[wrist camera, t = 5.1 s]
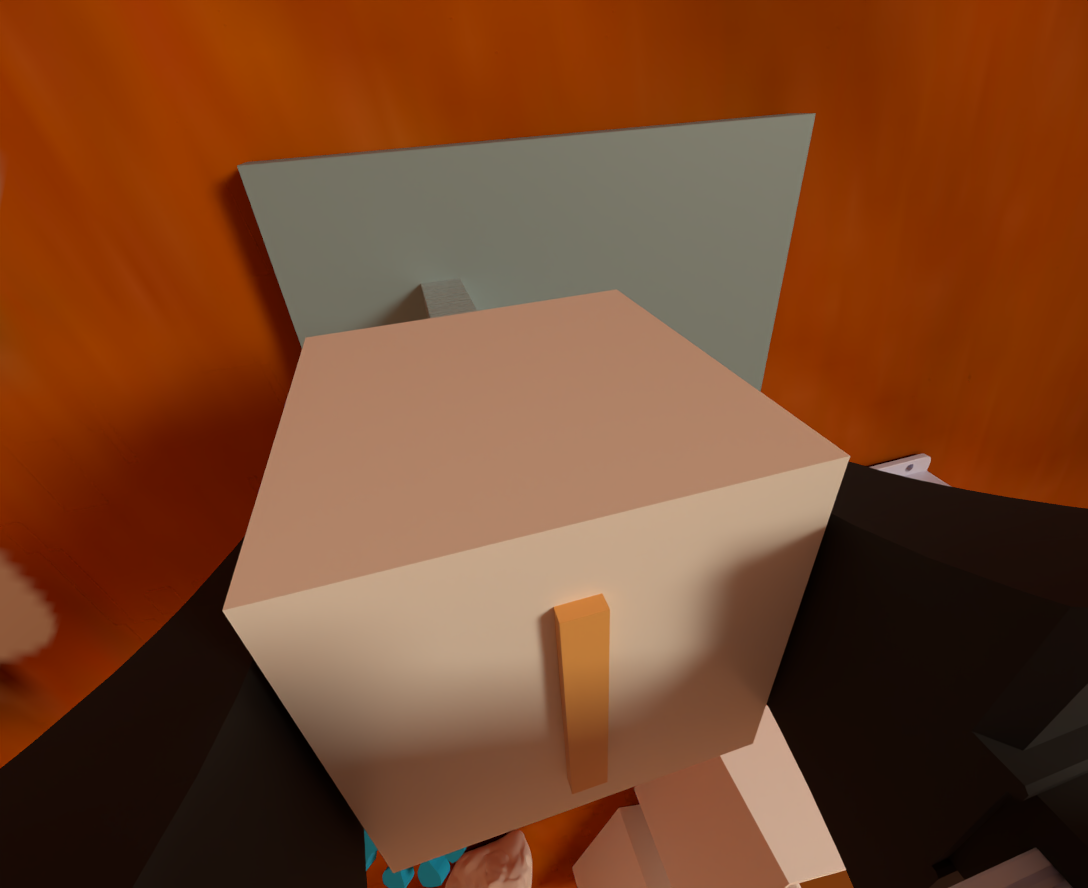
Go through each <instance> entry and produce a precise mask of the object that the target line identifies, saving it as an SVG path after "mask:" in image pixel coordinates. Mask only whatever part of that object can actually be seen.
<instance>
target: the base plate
mask: <svg viewBox="0 0 1088 888" xmlns="http://www.w3.org/2000/svg"><path fill="white" fill-rule="evenodd" d="M815 114H816V113H803V114H780V115H769V116H757V117H746V118H735V119H724V120H713V121H702V122H691V123H679V124H668V125H657V126H646V127H635V128H624V129H612V130H601V131H590V132H579V133H568V134H557V135H545V136H534V137H523V138H512V139H501V140H490V141H479V142H467V143H456V144H445V145H434V146H423V147H412V148H400V149H389V150H378V151H367V152H356V153H345V154H333V155H322V156H311V157H300V158H289V159H278V160H267V161H255V162H246V163H243V164H241V165H238V166H237V167H238V170H239V173H240V176H241V178H242V181H243V184H244V187H245V190H246V192H247V195H248V198H249V201H250V204H251V207H252V209H253V212H254V215H255V218H256V221H257V223H258V226H259V229H260V232H261V235H262V238H263V240H264V243H265V246H266V249H267V252H268V254H269V257H270V260H271V263H272V266H273V269H274V271H275V274H276V277H277V280H278V283H279V285H280V288H281V291H282V294H283V297H284V300H285V302H286V305H287V308H288V311H289V314H290V316H291V319H292V322H293V325H294V328H295V331H296V333H297V336H298V339H299V342H300V345H301V347H302V348H303V344H304V341H305V338H306V337H313V336H319V335H326V334H332V333H339V332H345V331H352V330H358V329H365V328H371V327H377V326H384V325H390V324H397V323H403V322H410V321H416V320H423V319H428V317H427V312H426V307H425V302H424V297H423V292H422V287H421V283H428V282H435V281H442V280H449V279H456V278H460V279H461V281H462V283H463V285H464V287H465V289H466V291H467V292H468V294H469V296H470V298H471V300H472V302H473V304H474V305H475V307H476V309H477V311H481V310H487V309H494V308H500V307H506V306H513V305H519V304H526V303H532V302H539V301H545V300H552V299H558V298H564V297H571V296H577V295H584V294H590V293H597V292H603V291H610V290H616V289H617V290H618V291H620V292H621V293H622V294H624V295H625V296H627V297H628V298H629V299H631V300H632V301H634V302H635V303H636V304H638V305H639V306H641V307H642V308H643V309H645V310H646V311H648V312H649V313H650V314H652V315H653V316H655V317H656V318H657V319H659V320H660V321H662V322H663V323H664V324H666V325H667V326H669V327H670V328H671V329H673V330H674V331H676V332H677V333H678V334H680V335H681V336H683V337H684V338H686V339H687V340H688V341H690V342H691V343H693V344H694V345H695V346H697V347H698V348H700V349H701V350H702V351H704V352H705V353H707V354H708V355H709V356H711V357H712V358H714V359H715V360H716V361H718V362H719V363H721V364H722V365H723V366H725V367H726V368H728V369H729V370H730V371H732V372H733V373H735V374H736V375H737V376H739V377H740V378H742V379H743V380H744V381H746V382H747V383H749V384H750V385H751V386H753V387H754V388H756V389H757V390H758V391H761V386H762V381H763V375H764V370H765V365H766V360H767V355H768V350H769V345H770V340H771V335H772V330H773V325H774V320H775V315H776V310H777V305H778V300H779V295H780V290H781V285H782V280H783V275H784V270H785V265H786V260H787V255H788V250H789V245H790V240H791V235H792V230H793V225H794V220H795V215H796V210H797V205H798V200H799V194H800V189H801V184H802V179H803V174H804V169H805V164H806V159H807V154H808V149H809V144H810V139H811V134H812V129H813V124H814V119H815Z"/></svg>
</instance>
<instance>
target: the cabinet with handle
mask: <svg viewBox="0 0 1088 888" xmlns="http://www.w3.org/2000/svg"><path fill="white" fill-rule="evenodd" d="M849 458H850V456H849V455H848V454H847V453H845V452H844V451H842V450H841V449H840V448H838V447H837V446H835V445H834V444H833V443H831V442H830V441H828V440H827V439H826V438H824V437H823V436H821V435H820V434H819V433H817V432H816V431H814V430H813V429H812V428H810V427H809V426H807V425H806V424H805V423H803V422H802V421H800V420H799V419H798V418H796V417H795V416H793V415H792V414H791V413H789V412H788V411H786V410H785V409H784V408H782V407H781V406H779V405H778V404H777V403H775V402H774V401H772V400H771V399H770V398H768V397H767V396H765V395H764V394H763V393H761V392H760V391H758V390H757V389H756V388H754V387H753V386H751V385H750V384H749V383H747V382H746V381H744V380H743V379H742V378H740V377H739V376H737V375H736V374H735V373H733V372H732V371H730V370H729V369H728V368H726V367H725V366H723V365H722V364H721V363H719V362H718V361H716V360H715V359H714V358H712V357H711V356H709V355H708V354H707V353H705V352H704V351H702V350H701V349H700V348H698V347H697V346H695V345H694V344H693V343H691V342H690V341H688V340H687V339H686V338H684V337H683V336H681V335H680V334H678V333H677V332H676V331H674V330H673V329H671V328H670V327H669V326H667V325H666V324H664V323H663V322H662V321H660V320H659V319H657V318H656V317H655V316H653V315H652V314H650V313H649V312H648V311H646V310H645V309H643V308H642V307H641V306H639V305H638V304H636V303H635V302H634V301H632V300H631V299H629V298H628V297H627V296H625V295H624V294H622V293H621V292H620V291H618V290H617V289H616V290H610V291H603V292H597V293H590V294H584V295H577V296H571V297H564V298H558V299H552V300H545V301H539V302H532V303H526V304H519V305H513V306H506V307H500V308H494V309H487V310H481V311H474V312H468V313H461V314H455V315H448V316H442V317H435V318H429V319H423V320H416V321H410V322H403V323H397V324H390V325H384V326H377V327H371V328H365V329H358V330H352V331H345V332H339V333H332V334H326V335H319V336H313V337H306V338H305V341H304V344H303V348H302V351H301V354H300V357H299V361H298V364H297V367H296V371H295V374H294V377H293V380H292V384H291V387H290V390H289V394H288V397H287V400H286V403H285V407H284V410H283V413H282V417H281V420H280V423H279V426H278V430H277V433H276V436H275V439H274V443H273V446H272V449H271V453H270V456H269V459H268V462H267V466H266V469H265V472H264V476H263V479H262V482H261V485H260V489H259V492H258V495H257V499H256V502H255V505H254V508H253V512H252V515H251V518H250V521H249V525H248V528H247V531H246V535H245V538H244V541H243V544H242V548H241V551H240V554H239V558H238V561H237V564H236V567H235V571H234V574H233V577H232V581H231V584H230V587H229V590H228V594H227V597H226V600H225V603H224V607H223V610H222V611H223V613H224V614H225V616H226V617H227V619H228V620H229V622H230V623H231V625H232V626H233V628H234V629H235V631H236V633H237V634H238V636H239V637H240V639H241V640H242V642H243V643H244V645H245V646H246V648H247V649H248V651H249V652H250V654H251V656H252V657H253V659H254V660H255V662H256V663H257V665H258V666H259V668H260V669H261V671H262V672H263V674H264V676H265V677H266V679H267V680H268V682H269V683H270V685H271V686H272V688H273V689H274V691H275V692H276V694H277V695H278V697H279V699H280V700H281V702H282V703H283V705H284V706H285V708H286V709H287V711H288V712H289V714H290V715H291V717H292V719H293V720H294V722H295V723H296V725H297V726H298V728H299V729H300V731H301V732H302V734H303V735H304V737H305V738H306V740H307V742H308V743H309V745H310V746H311V748H312V749H313V751H314V752H315V754H316V755H317V757H318V758H319V760H320V761H321V763H322V765H323V766H324V768H325V769H326V771H327V772H328V774H329V775H330V777H331V778H332V780H333V781H334V783H335V785H336V786H337V788H338V789H339V791H340V792H341V794H342V795H343V797H344V798H345V800H346V801H347V803H348V804H349V806H350V808H351V809H352V811H353V812H354V814H355V815H356V817H357V818H358V820H359V821H360V823H361V824H362V826H363V828H364V829H365V831H366V832H367V834H368V835H369V837H370V838H371V840H372V841H373V843H374V844H375V846H376V847H377V849H378V851H379V852H380V854H381V855H382V857H383V858H384V860H385V861H386V863H387V864H388V866H389V867H390V869H391V871H392V872H393V873H396V872H398V871H401V870H404V869H407V868H409V867H412V866H415V865H418V864H421V863H423V862H426V861H429V860H432V859H434V858H437V857H440V856H443V855H446V854H448V853H451V852H454V851H457V850H459V849H462V848H465V847H468V846H471V845H473V844H476V843H479V842H482V841H484V840H487V839H490V838H493V837H495V836H498V835H501V834H504V833H507V832H509V831H512V830H515V829H518V828H520V827H523V826H526V825H529V824H532V823H534V822H537V821H540V820H543V819H545V818H548V817H551V816H554V815H557V814H559V813H562V812H565V811H568V810H570V809H573V808H576V807H579V806H582V805H584V804H587V803H590V802H593V801H595V800H598V799H601V798H604V797H607V796H609V795H612V794H615V793H618V792H620V791H623V790H626V789H629V788H631V787H634V786H637V785H640V784H643V783H645V782H648V781H651V780H654V779H656V778H659V777H662V776H665V775H668V774H670V773H673V772H676V771H679V770H681V769H684V768H687V767H690V766H693V765H695V764H698V763H701V762H704V761H706V760H709V759H712V758H715V757H718V756H720V755H723V754H726V753H729V752H731V751H734V750H737V749H740V748H742V747H745V746H748V745H751V744H753V742H754V739H755V736H756V733H757V730H758V727H759V724H760V721H761V719H762V716H763V713H764V710H765V707H766V704H767V701H768V698H769V695H770V692H771V689H772V686H773V683H774V680H775V677H776V674H777V671H778V668H779V665H780V662H781V659H782V656H783V653H784V650H785V647H786V644H787V642H788V639H789V636H790V633H791V630H792V627H793V624H794V621H795V618H796V615H797V612H798V609H799V606H800V603H801V600H802V597H803V594H804V591H805V588H806V585H807V582H808V579H809V576H810V573H811V570H812V567H813V565H814V562H815V559H816V556H817V553H818V550H819V547H820V544H821V541H822V538H823V535H824V532H825V529H826V526H827V523H828V520H829V517H830V514H831V511H832V508H833V505H834V502H835V499H836V496H837V493H838V490H839V488H840V485H841V482H842V479H843V476H844V473H845V470H846V467H847V464H848V461H849Z"/></svg>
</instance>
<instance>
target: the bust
mask: <svg viewBox="0 0 1088 888" xmlns="http://www.w3.org/2000/svg"><path fill="white" fill-rule="evenodd" d="M531 884H532V857H531V852H530V848H529V846H528V843H527V841H526V839H525V836H524V834H523V832H522V831H520V830H513V831H511V832H510V833H508V834H507V835H506V836H504V837H502V838H500V839H499V840H497V841H494V842H491V843H489V844H487V845H485V846H482V847H479V848H476V849H474V850H471V851H468V852H466V853H464V854H463V855H462V856H461V857H460V858H459V859H458V861H457V862H456V864H455V866H454V867H453V869H452V872H451V874H450V876H449V878H448V880H447V882H446V885H445V888H531Z"/></svg>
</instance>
